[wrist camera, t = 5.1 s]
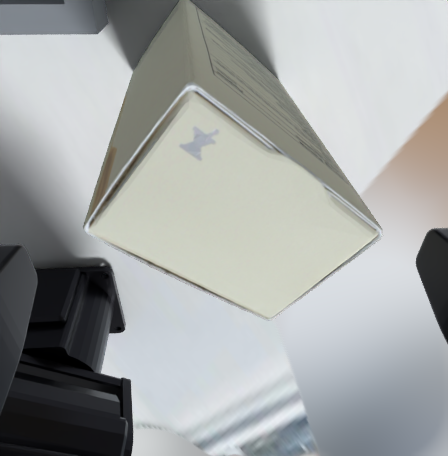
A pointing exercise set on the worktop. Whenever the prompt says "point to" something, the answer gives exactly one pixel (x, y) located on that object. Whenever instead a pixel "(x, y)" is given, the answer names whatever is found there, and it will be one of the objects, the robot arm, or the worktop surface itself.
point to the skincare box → (224, 176)
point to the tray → (52, 17)
